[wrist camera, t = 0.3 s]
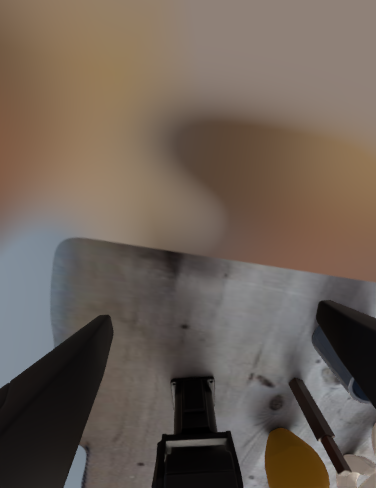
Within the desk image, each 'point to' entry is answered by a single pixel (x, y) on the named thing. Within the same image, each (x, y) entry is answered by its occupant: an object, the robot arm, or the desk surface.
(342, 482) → the cream globe logo
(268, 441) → the apple
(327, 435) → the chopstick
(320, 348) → the cup
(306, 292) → the desk surface
